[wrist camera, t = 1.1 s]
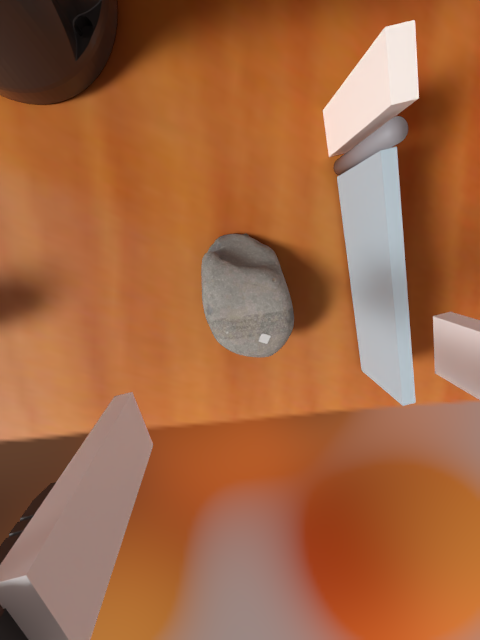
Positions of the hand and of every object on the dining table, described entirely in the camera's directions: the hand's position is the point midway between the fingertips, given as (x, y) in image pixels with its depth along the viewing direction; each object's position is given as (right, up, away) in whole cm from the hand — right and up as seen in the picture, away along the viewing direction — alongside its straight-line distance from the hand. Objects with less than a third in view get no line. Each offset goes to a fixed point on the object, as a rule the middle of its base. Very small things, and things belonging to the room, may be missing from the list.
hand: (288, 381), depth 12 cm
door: (+11, +8, +18) cm, 22 cm away
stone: (-2, +6, +18) cm, 19 cm away
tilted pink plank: (+7, +21, +14) cm, 26 cm away
